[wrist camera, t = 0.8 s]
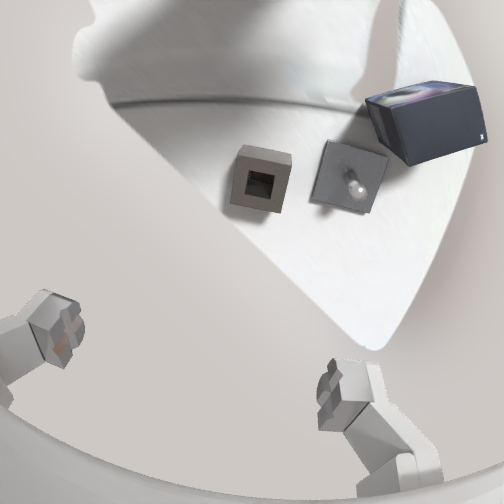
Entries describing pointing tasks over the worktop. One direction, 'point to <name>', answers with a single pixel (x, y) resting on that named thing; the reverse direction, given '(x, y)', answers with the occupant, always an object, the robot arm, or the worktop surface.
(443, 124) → the small box
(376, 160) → the shaft stand
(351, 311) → the worktop surface
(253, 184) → the collar
